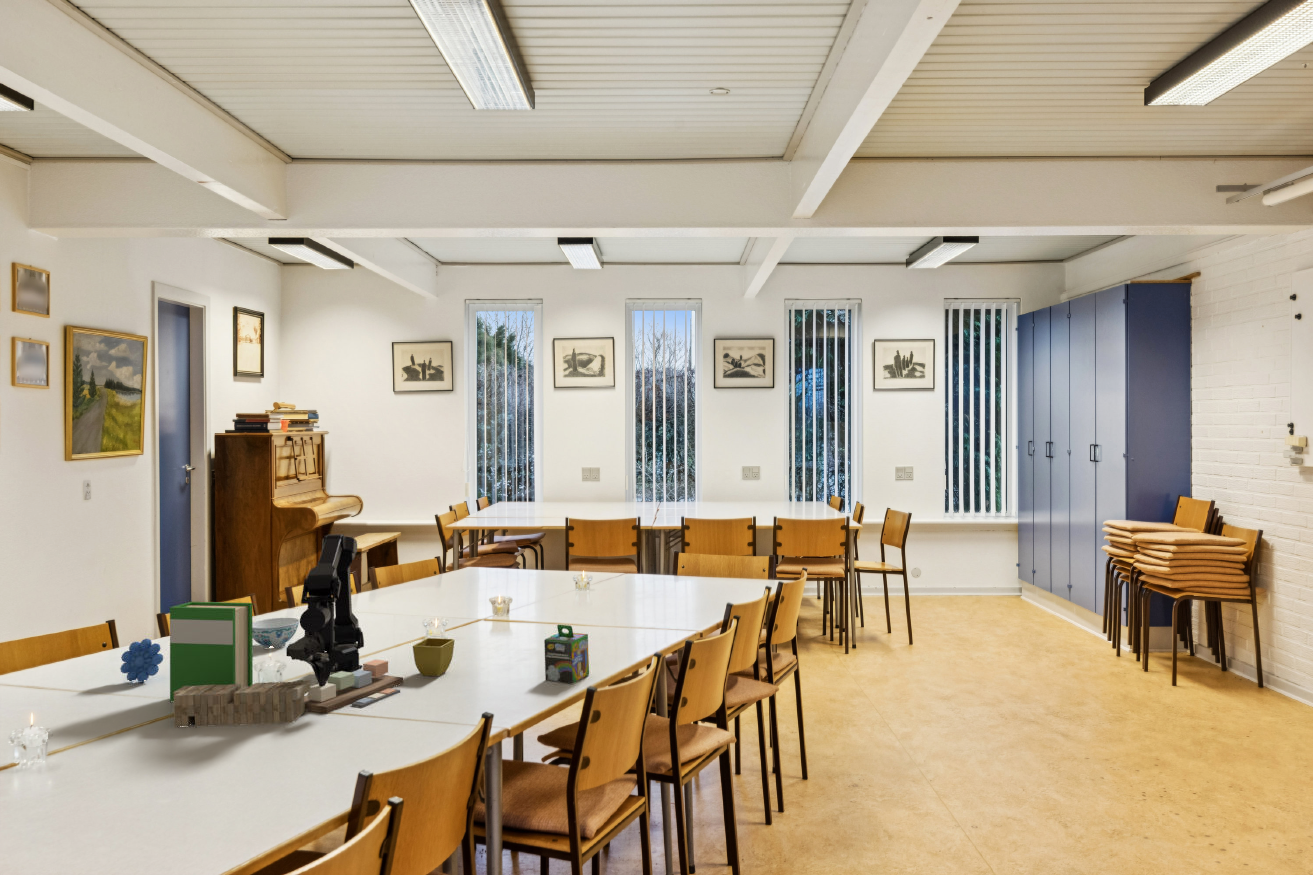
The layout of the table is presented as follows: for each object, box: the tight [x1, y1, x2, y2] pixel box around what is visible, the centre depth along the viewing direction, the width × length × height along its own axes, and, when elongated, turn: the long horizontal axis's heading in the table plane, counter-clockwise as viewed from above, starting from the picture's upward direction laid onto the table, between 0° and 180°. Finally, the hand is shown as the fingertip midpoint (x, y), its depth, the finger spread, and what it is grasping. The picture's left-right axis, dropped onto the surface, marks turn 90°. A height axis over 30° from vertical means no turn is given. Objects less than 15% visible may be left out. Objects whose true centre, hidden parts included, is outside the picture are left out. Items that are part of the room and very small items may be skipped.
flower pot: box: [412, 637, 455, 677], centre depth 218 cm, size 9×9×9 cm
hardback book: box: [169, 601, 254, 701], centre depth 198 cm, size 18×7×24 cm, turn 81°
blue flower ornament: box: [119, 638, 164, 682], centre depth 214 cm, size 12×7×12 cm, turn 89°
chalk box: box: [543, 624, 590, 685], centre depth 213 cm, size 9×9×15 cm
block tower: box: [173, 679, 311, 728], centre depth 182 cm, size 8×8×29 cm
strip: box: [351, 688, 401, 708], centre depth 196 cm, size 4×13×1 cm, turn 156°
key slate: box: [350, 669, 372, 688], centre depth 203 cm, size 4×4×3 cm
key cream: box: [307, 682, 336, 702], centre depth 192 cm, size 4×4×3 cm
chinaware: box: [252, 617, 300, 649], centre depth 251 cm, size 15×15×8 cm
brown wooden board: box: [304, 674, 404, 714], centre depth 200 cm, size 12×26×2 cm, turn 156°
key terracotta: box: [362, 659, 389, 677], centre depth 208 cm, size 4×4×3 cm
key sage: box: [326, 671, 354, 690], centre depth 197 cm, size 4×4×3 cm
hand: (322, 685), depth 192 cm, fingers closed, pressing on key cream
